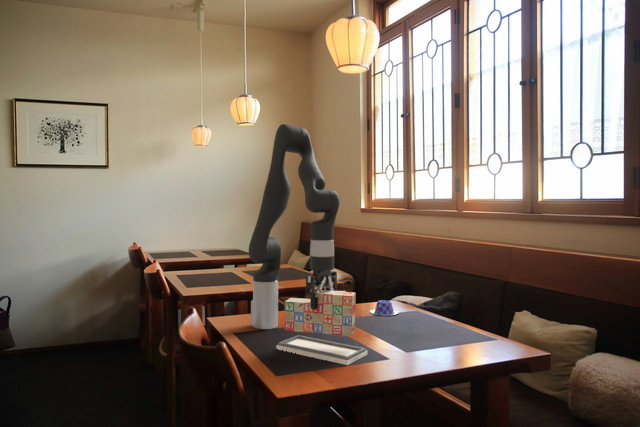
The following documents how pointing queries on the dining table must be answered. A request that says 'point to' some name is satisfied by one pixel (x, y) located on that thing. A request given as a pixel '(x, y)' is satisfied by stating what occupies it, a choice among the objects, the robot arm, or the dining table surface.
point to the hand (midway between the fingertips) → (321, 306)
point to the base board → (322, 349)
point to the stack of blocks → (322, 314)
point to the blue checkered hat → (384, 308)
